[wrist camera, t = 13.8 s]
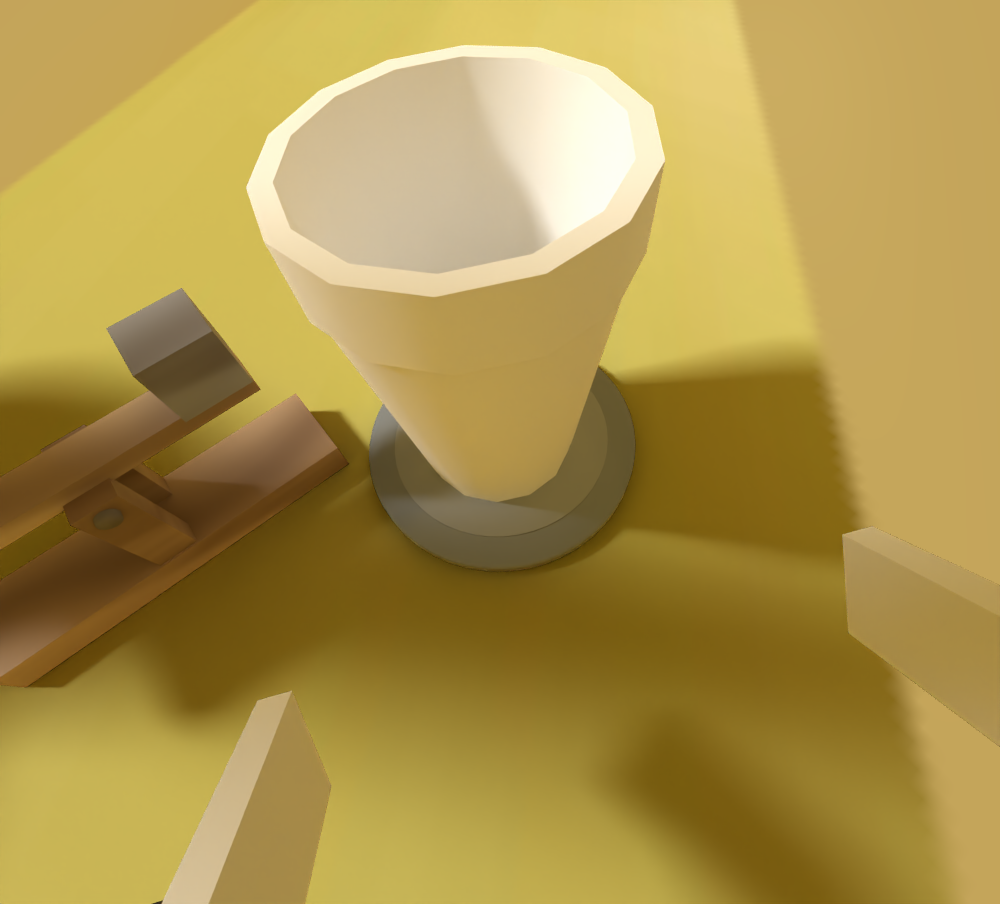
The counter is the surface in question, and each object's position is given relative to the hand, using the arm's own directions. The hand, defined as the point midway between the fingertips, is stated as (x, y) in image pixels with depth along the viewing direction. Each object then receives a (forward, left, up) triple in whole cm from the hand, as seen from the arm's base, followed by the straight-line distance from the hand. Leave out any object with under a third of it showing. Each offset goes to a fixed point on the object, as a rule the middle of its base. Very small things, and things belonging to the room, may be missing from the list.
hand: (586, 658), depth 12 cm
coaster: (-10, +5, -8) cm, 13 cm away
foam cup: (-10, +4, -7) cm, 13 cm away
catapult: (-16, -9, -8) cm, 20 cm away
